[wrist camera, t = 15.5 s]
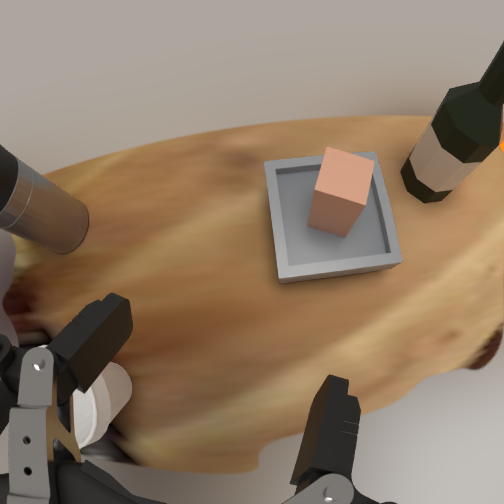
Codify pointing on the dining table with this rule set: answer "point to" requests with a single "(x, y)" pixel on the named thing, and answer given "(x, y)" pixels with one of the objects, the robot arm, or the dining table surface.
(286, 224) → the grey square tray
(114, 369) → the cup
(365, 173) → the terracotta block
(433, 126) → the wine bottle
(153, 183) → the dining table surface
